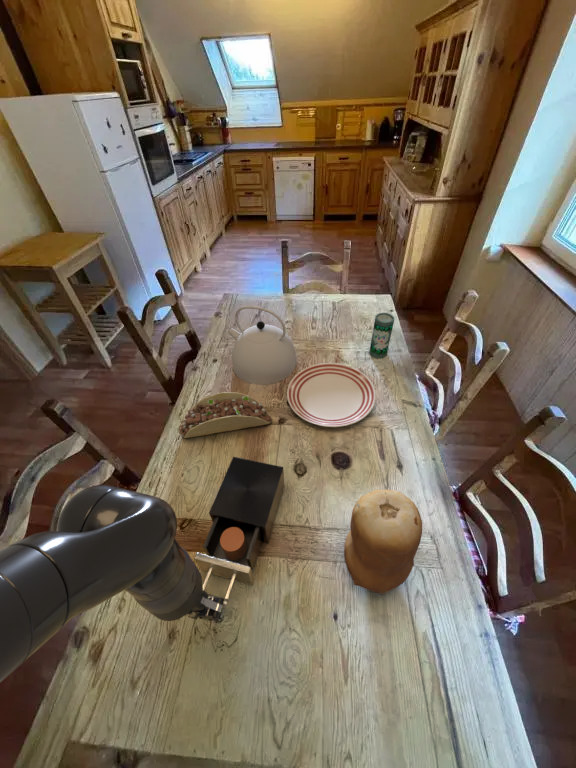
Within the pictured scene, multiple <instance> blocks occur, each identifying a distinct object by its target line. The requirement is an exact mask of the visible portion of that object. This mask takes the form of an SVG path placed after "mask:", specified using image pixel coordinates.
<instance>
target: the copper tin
mask: <svg viewBox="0 0 576 768" xmlns="http://www.w3.org/2000/svg"><path fill="white" fill-rule="evenodd" d="M220 544H221V546H222V549H223V551H224V553H225V555H226V557H227V558H229V559H231V560H238V559H240V558H241V557H243V556H244V554H245V553H246V550H247V543H246V540H245V537H244V533H243V532H242V530H241V529H239V528H237V527H230V528H228V529H226V530H225V531H224V532H223V533H222V535H221V538H220Z"/></svg>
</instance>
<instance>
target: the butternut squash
mask: <svg viewBox="0 0 576 768" xmlns="http://www.w3.org/2000/svg"><path fill="white" fill-rule="evenodd" d="M349 528H350V530H349V531H348V533H347V535H346V537H345V541H344V545H343V558H344V559H343V560H344V563H345V566H346V569H347V572H348V574H349V576H350V577H351V578H352V580H353V585H354V586H358V587H360V588H363V589H364V590H367V591H370V592H373V593H376V594H380V595H385V594H386V593H388V592H390V591H394V590H395V589H396V588H398V587H400V586H401V585H402V584H403V583H405V581H406V580H407V579H408V577H409V576H410V574H411V572H412V570H413V568H414V566H415V563H414V559H415V556H416V554H417V552H418V550H419V546H420V544H421V542H422V541H421V540H422V535H423V519H422V516H421V513H420V511H419V509H418V507H417V505H416V504H415V502H414V501H413V500H412V499H410V498H409V497H408V496H407V495H405V494H404V493H403V492H400V491H397V490H391V489H375V490H372V491H370V492H369V493H366V494H365V495H361V496H360V497H359V498H358V500H357V501H356V502H355V505H354V506H353V508H352V511H351V517H350V527H349Z"/></svg>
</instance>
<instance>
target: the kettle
mask: <svg viewBox="0 0 576 768" xmlns="http://www.w3.org/2000/svg"><path fill="white" fill-rule="evenodd" d="M246 309H249V310H250V309H251V310H258V311H262V312H263V311H264V312H266V313H268V314H271V315H272V316H273V317H274V318H276V319H277V320H278V321H279V322H280V324H281V327H282V329H281V328H280V327H277V326H275V325H273V324H272V325H271V324H267V323H265V322H263V321H262V320H260V321H259V320H258V321H257V323H256V325H253V326H250V327H248V328H246V329H245V330H243V328H242V326H241V325H240V323H239V319H238V314H239V312H240V311H242V310H246ZM234 320H235V323H236V326H237V328H238V329H239V331H240V332H239V331H238V330H236V329H234V327H230V328H228V329H226V332H227V334H229V335H230V336H231V338H233V339H234V340H235V341H234V343H233V346H232V351H231V363H232V369H233V372H234V373H235V375H236V376H237V378H239V379H240V380H241V381H243V382H246V383H248V384H252V385H259V386H260V385H262V386H263V385H271V384H272V385H273V384H275V383H279V382H281V381H284V380H285V379H287V378H288V377H290V376H291V375H292V373H293V372H294V371H295V369H296V367H297V354H296V348H295V345H294V343H293V341H292V339H291V337H290V336H289V335H288V334H287V333H286V331H287V330H286V325H285V323H284V321H283V319H282V318H281V317H280V316H279V315H278V314H277V313H275V312H274V311H272V310H271V309H268V308H264V307H261V306H255V305H244V306H240V307H239V308H237V309H236V311H235V313H234Z"/></svg>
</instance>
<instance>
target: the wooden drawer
mask: <svg viewBox="0 0 576 768" xmlns="http://www.w3.org/2000/svg"><path fill="white" fill-rule="evenodd" d="M230 527H237V528H239V529H241V530H242V532H243V533H244V537H245V540H246V543H247V550H246V553H245V554H244V556H243V557H241V558H240V559H238V560H231V559H229V558H227V557H226V555H225V553H224V551H223V549H222V546H221V544H220V538H221V535H222V533H223V532H224V531H225V530H226V529H228V528H230ZM262 540H263V531H262V528H261V527H257V526H253V525H249V524H245V523H241V522H237V521H233V520H229V519H225V518H220V517H215V519H214V522H213V521H212V524H211V527H210V529H209V531H208V534H207V536H206V539H205V541H204V543H203V546H202V548H203V550H204V551H205V554H203V553H200V552H196V553H195V556H194V561H195V562H196V564H197V565H198V567H199V570H201V571H202V572H205V573H206V576H205V578H204V581H203V583H202V585H203V590H204V591H205V592H206V589H207V587H208V586H207V585H208V584H209V581H210V578H211V576H212V575H215V576H218V577H223V578H226V579H230V582H229V584H228V588H227V591H226V594H225V596H224V598H223V599H224V603H223V607H222V609H228V607H229V604H230V600H229V599H230V596H231V593H232V590H233V588H234V584H235V581H236V582H240V583H244V584H246V585H250V586H253V585H254V582H255V577H254V573H253V571H254V569H255V566H256V563H257V560H258V556H259V554H260V553H259V552H260V549H261V547H262ZM208 596H209V598H211V597H212V596H213V597H218V596H216V595H213V594H210V593H208Z"/></svg>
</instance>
